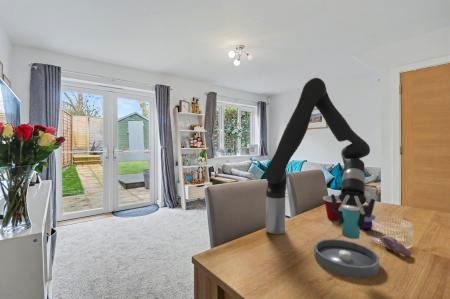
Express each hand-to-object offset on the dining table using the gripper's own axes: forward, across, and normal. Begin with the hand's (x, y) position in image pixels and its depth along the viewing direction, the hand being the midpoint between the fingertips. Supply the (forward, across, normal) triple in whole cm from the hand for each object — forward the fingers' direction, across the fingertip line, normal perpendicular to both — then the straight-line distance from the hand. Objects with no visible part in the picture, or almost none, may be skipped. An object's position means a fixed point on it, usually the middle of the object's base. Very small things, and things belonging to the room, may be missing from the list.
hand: (350, 224), depth 75 cm
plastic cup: (-26, -12, +50) cm, 57 cm away
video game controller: (-6, +14, +30) cm, 34 cm away
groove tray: (+6, -2, +17) cm, 18 cm away
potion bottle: (-21, +4, +45) cm, 50 cm away
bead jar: (+2, 0, +4) cm, 5 cm away
